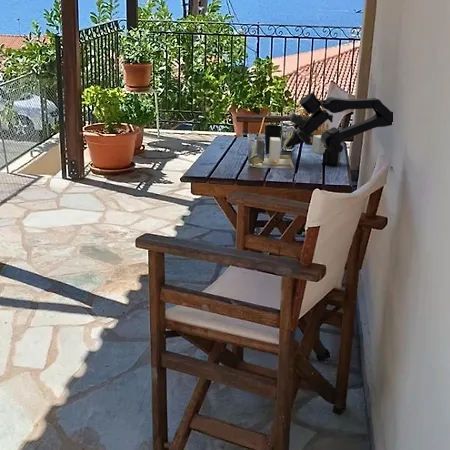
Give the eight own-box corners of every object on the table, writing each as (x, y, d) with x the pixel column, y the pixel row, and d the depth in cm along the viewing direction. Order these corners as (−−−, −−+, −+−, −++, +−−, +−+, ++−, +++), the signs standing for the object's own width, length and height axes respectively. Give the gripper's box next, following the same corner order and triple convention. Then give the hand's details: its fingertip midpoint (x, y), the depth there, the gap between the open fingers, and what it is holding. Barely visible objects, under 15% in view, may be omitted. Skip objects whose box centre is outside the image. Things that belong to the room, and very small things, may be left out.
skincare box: (318, 154, 288) (319, 138, 286) (311, 151, 293) (312, 135, 291) (329, 153, 290) (331, 137, 288) (323, 150, 296) (324, 134, 293)
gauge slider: (278, 158, 272) (279, 137, 269) (280, 164, 263) (281, 143, 259) (268, 158, 272) (270, 137, 269) (270, 164, 262) (272, 142, 259)
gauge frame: (290, 161, 274) (292, 138, 270) (293, 168, 262) (295, 144, 259) (253, 159, 274) (254, 136, 270) (254, 167, 262) (256, 143, 258)
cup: (274, 156, 281) (276, 128, 277) (259, 152, 286) (261, 126, 281) (283, 153, 287) (285, 126, 283) (269, 150, 291) (271, 123, 287)
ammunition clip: (304, 144, 306) (306, 119, 302) (305, 143, 308) (307, 118, 304) (326, 147, 302) (329, 121, 298) (327, 146, 304) (330, 121, 300)
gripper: (299, 103, 271) (271, 128, 274) (305, 111, 253) (275, 137, 257) (316, 122, 274) (288, 146, 277) (323, 131, 256) (293, 157, 260)
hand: (286, 146), depth 268 cm, fingers closed
